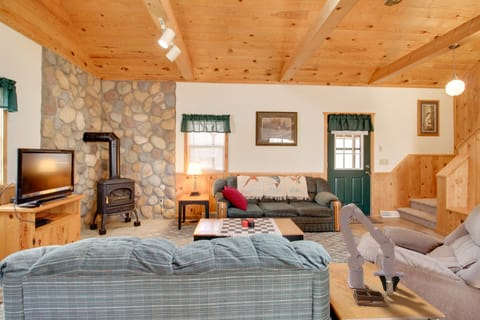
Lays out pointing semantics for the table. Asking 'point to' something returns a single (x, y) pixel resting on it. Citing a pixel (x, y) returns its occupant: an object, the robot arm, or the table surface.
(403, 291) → the table surface
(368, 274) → the table surface
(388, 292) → the plug
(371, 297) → the socket board
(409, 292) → the table surface
